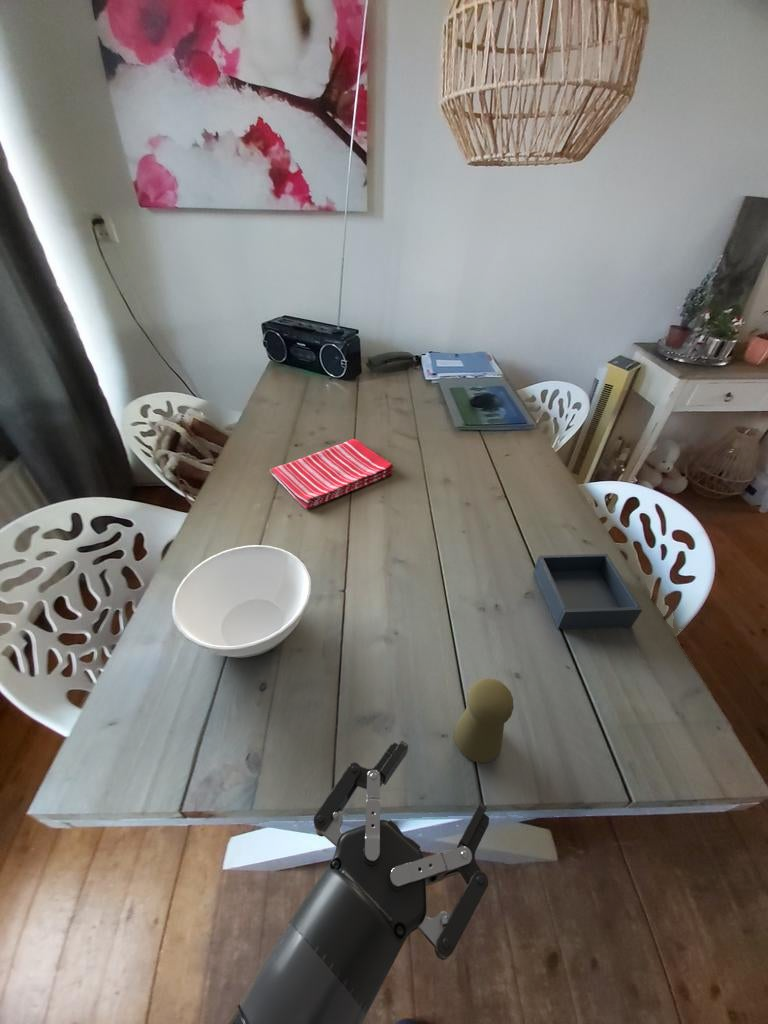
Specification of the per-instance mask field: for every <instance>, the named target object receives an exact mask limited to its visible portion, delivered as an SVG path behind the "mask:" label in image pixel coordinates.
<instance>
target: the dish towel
mask: <svg viewBox="0 0 768 1024" xmlns="http://www.w3.org/2000/svg"><path fill="white" fill-rule="evenodd" d="M393 469H394V466H393V463H391V462H389V460H387V459H385V458H383V457H382V456H380V455H379V454H378V453H376V452H375V451H373V450H372V449H370V447H369V448H368V446H366V445H365V444H364V443H362V442H361V441H360V440H359V439H356V438H352V439H349V440H347V441H345V442H343V443H340V444H337V445H334V446H331V447H329V448H326V449H324V450H320V451H318V452H315V453H312V454H310V455H307V456H305V457H301V458H299V459H296V460H293V461H291V462H288V463H285V464H281V465H278V466H276V467H273V468H270V469H269V472H270V473H271V475H272V477H274V478H275V479H276V480H277V482H278V483H279V484H280V485H282V486H283V488H285V490H286V491H287V492H288V493H289V494H290V495H291V496H292V498H293V499H295V500H296V501H297V503H298V504H300V505H301V506H302V507H303V508H304V509H305V510H306V511H308V510H311V509H313V508H316V507H318V506H320V505H323V504H326V503H328V502H329V501H331V500H334V499H337V498H339V497H341V496H344V495H346V494H349V493H351V492H354V491H357V490H359V489H362V488H364V487H366V486H368V485H371V484H373V483H376V482H378V481H380V480H383V479H386V478H387V477H390V476H392V475H393V471H392V470H393Z"/></svg>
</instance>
